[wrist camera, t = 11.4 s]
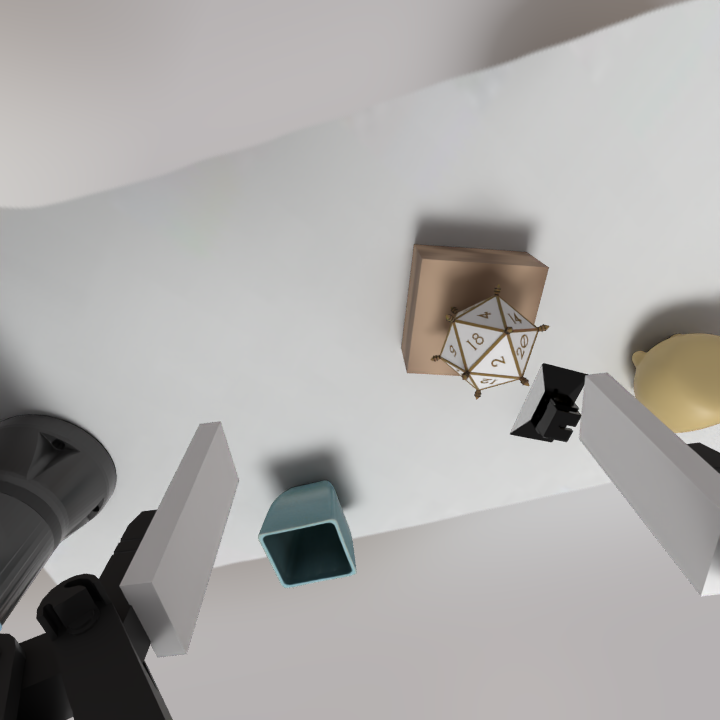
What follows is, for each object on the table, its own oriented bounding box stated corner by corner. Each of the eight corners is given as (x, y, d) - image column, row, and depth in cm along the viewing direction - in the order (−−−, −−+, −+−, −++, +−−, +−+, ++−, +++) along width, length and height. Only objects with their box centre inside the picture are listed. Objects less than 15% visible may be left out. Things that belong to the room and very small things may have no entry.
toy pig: (725, 380, 51) (811, 436, 42) (616, 409, 53) (675, 471, 43) (728, 301, 47) (824, 343, 38) (609, 335, 49) (673, 385, 39)
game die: (462, 292, 44) (502, 248, 34) (531, 350, 44) (592, 322, 34) (403, 360, 42) (428, 335, 33) (474, 421, 42) (521, 414, 32)
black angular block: (550, 451, 56) (566, 476, 52) (495, 439, 55) (506, 465, 51) (598, 363, 51) (620, 384, 47) (538, 349, 50) (555, 369, 46)
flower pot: (269, 478, 56) (255, 536, 48) (337, 463, 56) (335, 519, 48) (292, 528, 60) (283, 590, 52) (356, 514, 59) (357, 574, 51)
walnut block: (400, 346, 49) (407, 372, 44) (413, 243, 44) (422, 258, 39) (501, 352, 50) (519, 379, 44) (525, 251, 45) (548, 267, 39)
